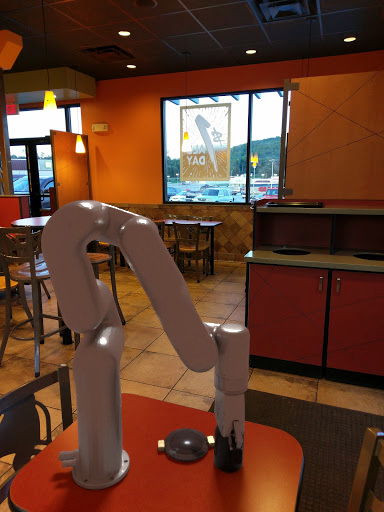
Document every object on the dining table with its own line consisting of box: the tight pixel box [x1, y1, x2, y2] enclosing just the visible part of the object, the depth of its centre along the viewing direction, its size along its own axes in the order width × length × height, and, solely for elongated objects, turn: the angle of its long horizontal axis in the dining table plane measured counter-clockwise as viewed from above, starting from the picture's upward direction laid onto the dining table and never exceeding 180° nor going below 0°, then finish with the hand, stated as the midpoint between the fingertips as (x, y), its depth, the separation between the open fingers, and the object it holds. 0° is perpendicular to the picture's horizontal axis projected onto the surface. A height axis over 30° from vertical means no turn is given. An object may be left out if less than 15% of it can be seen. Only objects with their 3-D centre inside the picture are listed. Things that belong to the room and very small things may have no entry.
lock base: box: [157, 427, 214, 463], centre depth 89 cm, size 14×11×1 cm
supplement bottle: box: [213, 423, 245, 474], centre depth 83 cm, size 7×7×12 cm
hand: (228, 448), depth 83 cm, fingers open, 9 cm apart
